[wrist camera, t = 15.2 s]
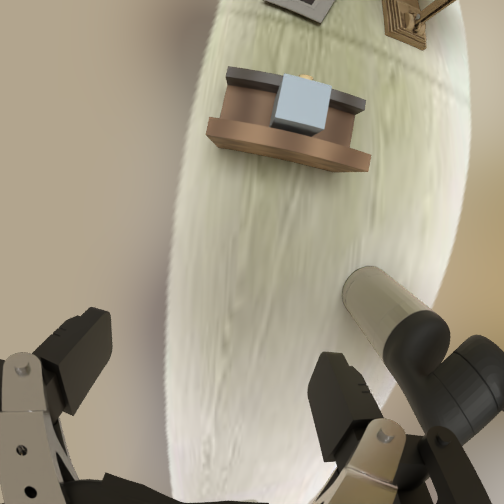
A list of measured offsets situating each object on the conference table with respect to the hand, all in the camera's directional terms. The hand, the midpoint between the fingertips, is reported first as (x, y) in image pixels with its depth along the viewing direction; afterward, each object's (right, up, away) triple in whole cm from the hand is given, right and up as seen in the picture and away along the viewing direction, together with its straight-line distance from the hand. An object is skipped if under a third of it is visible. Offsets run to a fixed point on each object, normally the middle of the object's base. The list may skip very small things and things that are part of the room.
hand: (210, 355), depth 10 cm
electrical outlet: (+11, +49, +23) cm, 55 cm away
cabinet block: (+7, +21, +24) cm, 33 cm away
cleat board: (+6, +22, +29) cm, 37 cm away
